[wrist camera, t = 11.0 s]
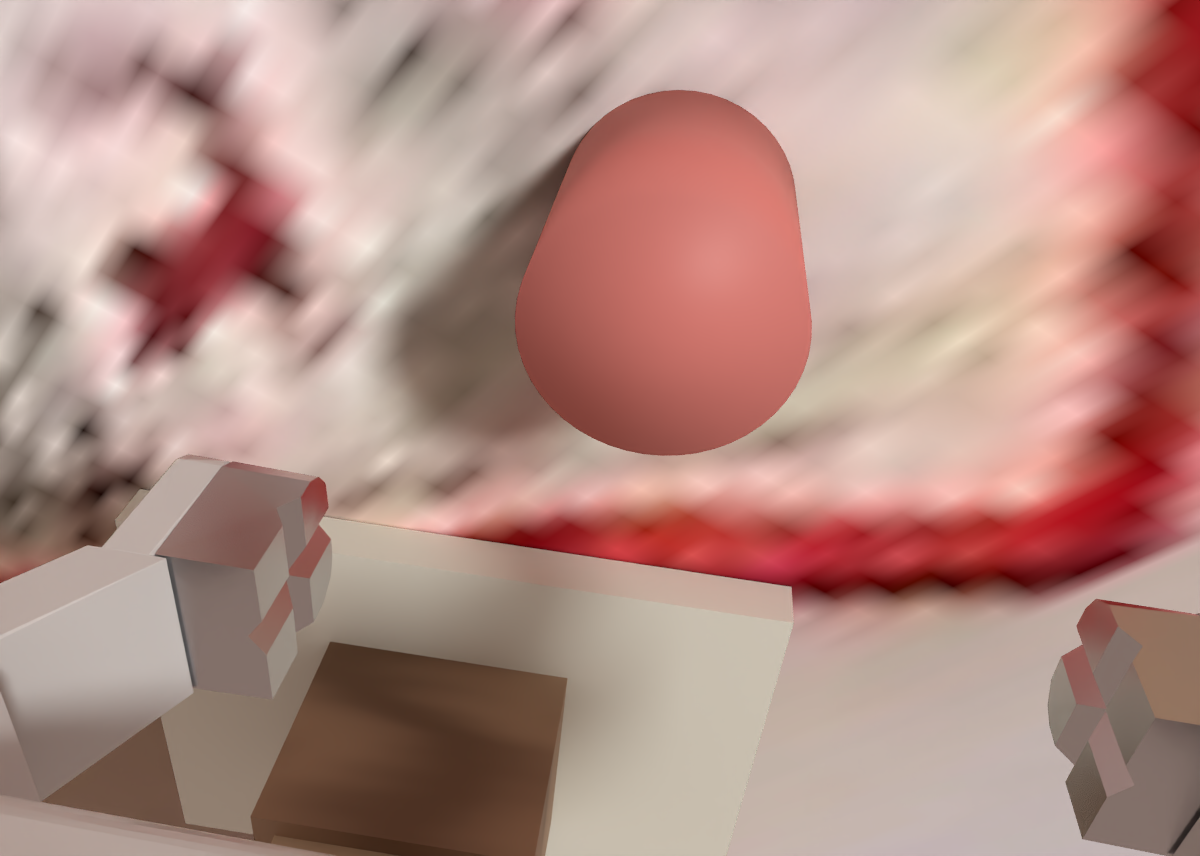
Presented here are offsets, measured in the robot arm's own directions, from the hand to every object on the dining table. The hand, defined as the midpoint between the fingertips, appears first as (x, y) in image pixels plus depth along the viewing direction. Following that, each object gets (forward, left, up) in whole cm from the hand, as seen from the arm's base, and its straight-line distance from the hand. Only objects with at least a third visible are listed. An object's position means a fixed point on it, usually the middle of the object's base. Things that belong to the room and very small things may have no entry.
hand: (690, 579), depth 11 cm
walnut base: (-5, -15, -9) cm, 18 cm away
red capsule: (-1, 0, -10) cm, 10 cm away
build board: (-5, -15, -10) cm, 19 cm away
